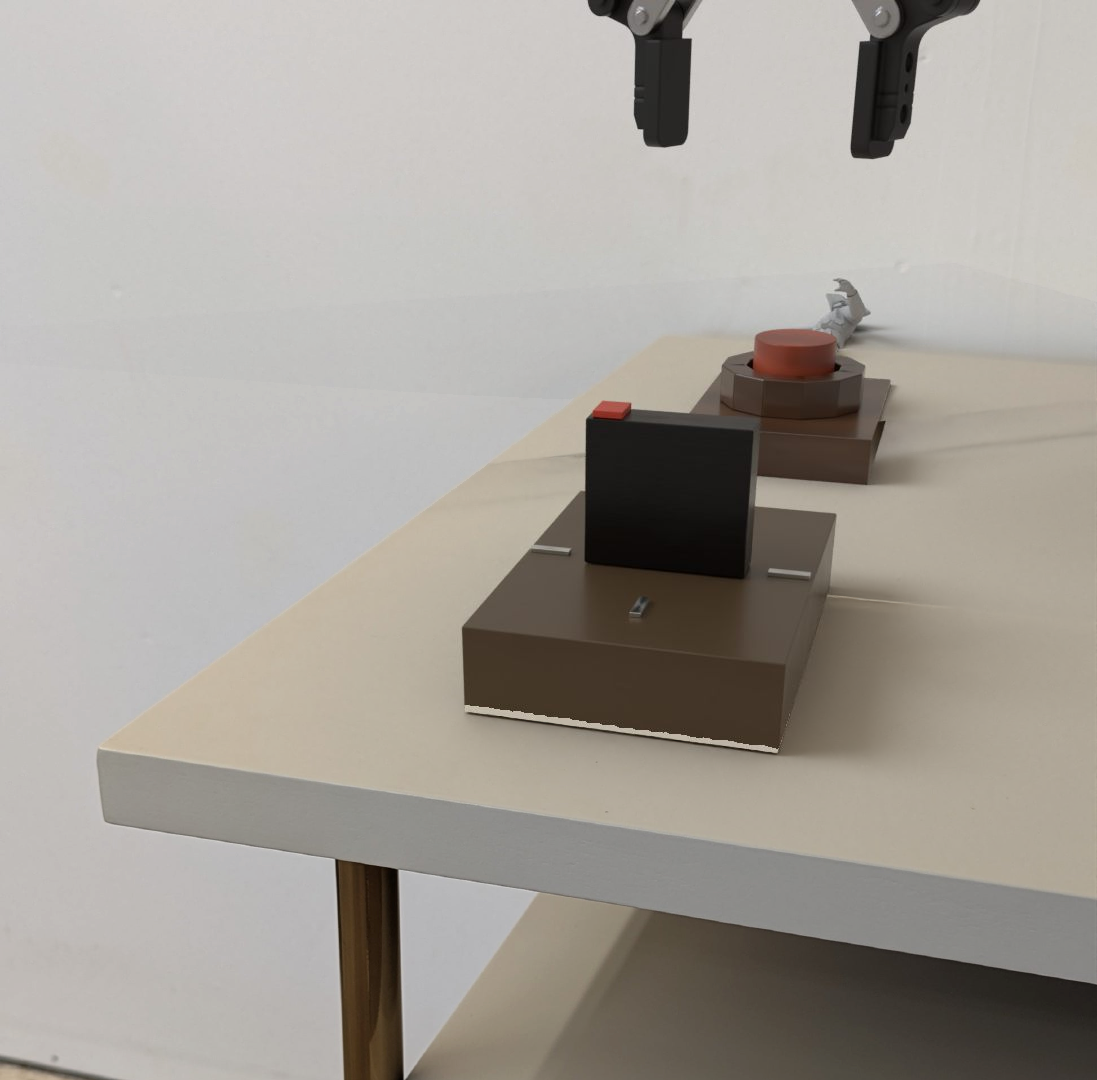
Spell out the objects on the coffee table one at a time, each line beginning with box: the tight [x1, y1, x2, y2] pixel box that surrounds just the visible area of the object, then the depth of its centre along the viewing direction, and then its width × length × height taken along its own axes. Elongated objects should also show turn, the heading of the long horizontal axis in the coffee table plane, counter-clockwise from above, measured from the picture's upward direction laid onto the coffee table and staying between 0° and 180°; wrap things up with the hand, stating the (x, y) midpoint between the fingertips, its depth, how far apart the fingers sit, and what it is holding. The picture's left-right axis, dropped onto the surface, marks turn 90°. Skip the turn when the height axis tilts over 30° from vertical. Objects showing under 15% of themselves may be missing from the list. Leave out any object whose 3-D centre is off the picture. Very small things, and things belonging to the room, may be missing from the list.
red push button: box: [753, 328, 837, 376], centre depth 69 cm, size 4×4×2 cm
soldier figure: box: [812, 277, 872, 353], centre depth 83 cm, size 8×5×12 cm
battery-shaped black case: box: [584, 400, 761, 578], centre depth 47 cm, size 6×2×5 cm, turn 74°
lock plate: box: [461, 490, 837, 749], centre depth 48 cm, size 14×10×3 cm
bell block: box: [689, 350, 892, 486], centre depth 70 cm, size 12×9×4 cm
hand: (763, 151), depth 52 cm, fingers open, 8 cm apart
